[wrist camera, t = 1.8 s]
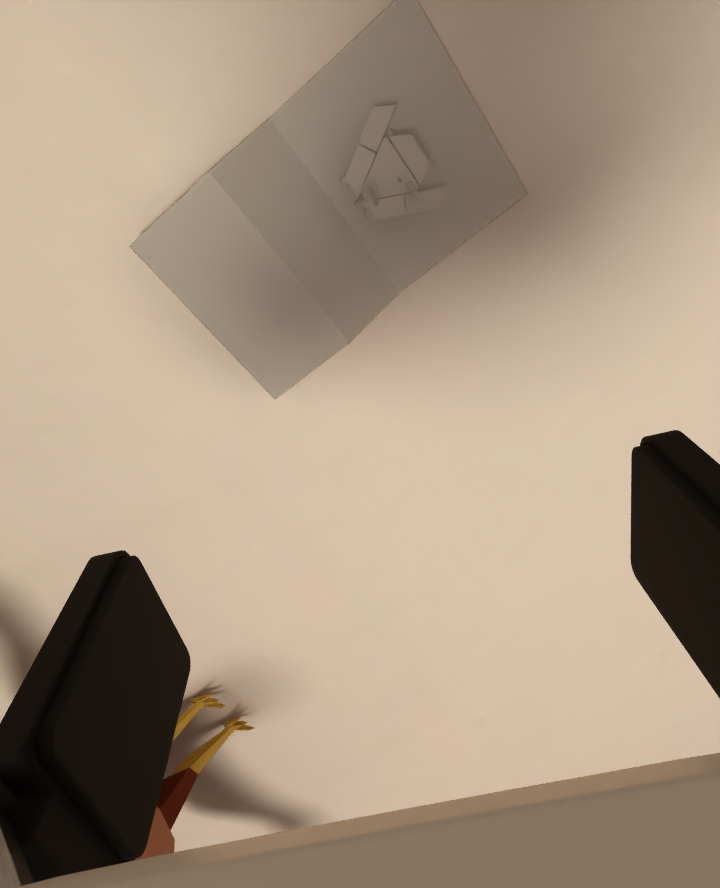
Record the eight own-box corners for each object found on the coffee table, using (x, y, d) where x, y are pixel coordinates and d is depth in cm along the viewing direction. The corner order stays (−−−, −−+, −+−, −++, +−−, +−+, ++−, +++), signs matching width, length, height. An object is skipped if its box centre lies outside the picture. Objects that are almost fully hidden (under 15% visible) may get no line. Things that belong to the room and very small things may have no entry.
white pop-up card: (139, 239, 21) (117, 253, 19) (409, -14, 18) (421, -32, 16) (277, 386, 24) (272, 413, 22) (527, 193, 21) (551, 202, 19)
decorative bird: (462, 828, 35) (409, 1229, 24) (254, 806, 45) (152, 1082, 34) (114, 521, 23) (-306, 1062, 12) (-64, 586, 33) (-378, 911, 22)
